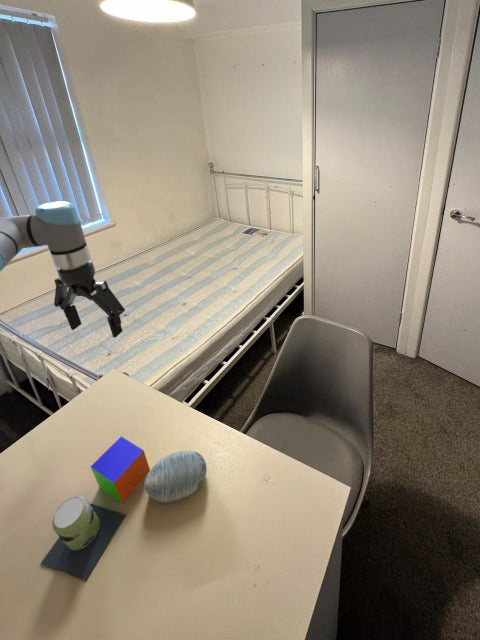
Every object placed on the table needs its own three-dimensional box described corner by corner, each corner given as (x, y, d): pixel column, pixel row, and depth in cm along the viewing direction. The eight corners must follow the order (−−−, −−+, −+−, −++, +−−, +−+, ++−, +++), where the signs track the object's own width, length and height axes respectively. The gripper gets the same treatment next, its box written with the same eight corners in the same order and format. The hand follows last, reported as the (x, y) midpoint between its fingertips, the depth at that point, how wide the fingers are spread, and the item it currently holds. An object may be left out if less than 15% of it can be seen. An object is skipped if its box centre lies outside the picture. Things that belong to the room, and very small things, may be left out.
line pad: (40, 564, 65) (40, 563, 65) (85, 502, 74) (84, 501, 74) (86, 580, 62) (85, 580, 62) (126, 515, 72) (125, 514, 72)
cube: (128, 456, 84) (121, 436, 81) (150, 470, 81) (143, 450, 77) (99, 486, 77) (90, 466, 74) (121, 503, 74) (113, 483, 71)
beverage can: (96, 510, 73) (81, 479, 68) (106, 539, 68) (91, 508, 63) (63, 535, 69) (45, 503, 64) (72, 567, 64) (52, 536, 59)
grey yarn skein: (210, 445, 83) (195, 442, 75) (214, 490, 78) (197, 492, 69) (159, 461, 83) (138, 460, 75) (159, 507, 77) (136, 512, 69)
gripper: (127, 261, 81) (145, 328, 90) (47, 251, 86) (71, 315, 95) (105, 276, 74) (126, 347, 83) (19, 265, 79) (48, 332, 88)
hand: (97, 330), depth 89 cm, fingers open, 13 cm apart
